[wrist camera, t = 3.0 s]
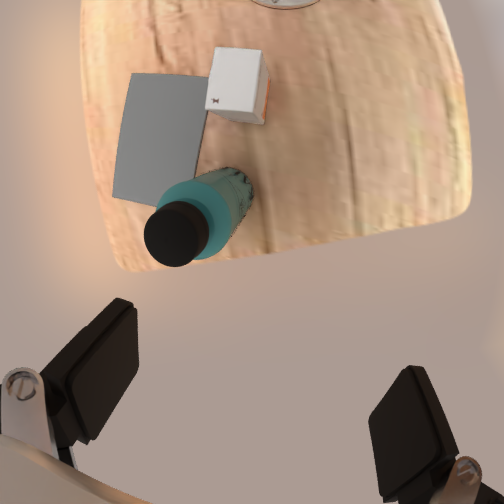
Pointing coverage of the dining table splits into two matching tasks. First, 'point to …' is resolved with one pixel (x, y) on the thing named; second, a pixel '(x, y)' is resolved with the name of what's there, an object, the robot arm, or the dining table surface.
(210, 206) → the beverage bottle
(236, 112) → the skincare box
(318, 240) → the dining table surface
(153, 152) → the slate mat
